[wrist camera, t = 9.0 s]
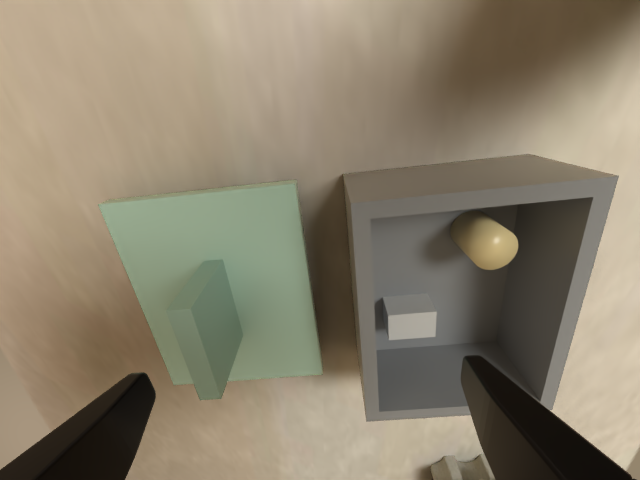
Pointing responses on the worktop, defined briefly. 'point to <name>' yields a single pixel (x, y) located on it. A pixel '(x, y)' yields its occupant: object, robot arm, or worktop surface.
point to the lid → (221, 281)
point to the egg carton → (462, 469)
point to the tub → (469, 275)
